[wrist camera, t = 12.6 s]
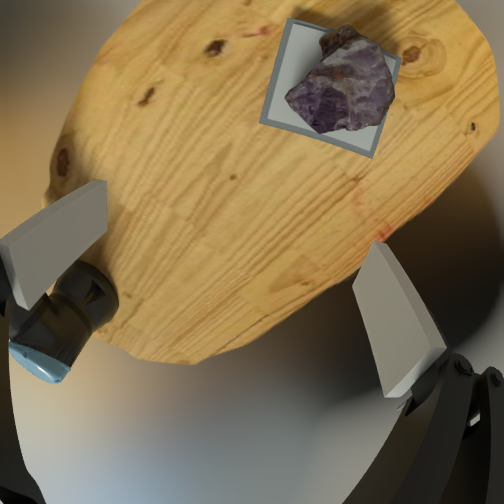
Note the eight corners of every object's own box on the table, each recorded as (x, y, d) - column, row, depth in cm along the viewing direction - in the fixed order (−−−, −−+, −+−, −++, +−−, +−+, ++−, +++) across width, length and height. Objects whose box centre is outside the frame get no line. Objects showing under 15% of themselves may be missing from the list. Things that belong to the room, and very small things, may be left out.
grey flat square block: (261, 121, 31) (258, 123, 28) (287, 24, 24) (287, 16, 21) (365, 154, 31) (373, 159, 28) (392, 61, 24) (403, 58, 21)
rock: (275, 91, 27) (343, 144, 29) (260, 95, 20) (350, 166, 22) (336, 21, 20) (405, 79, 22) (342, 2, 13) (433, 81, 15)
